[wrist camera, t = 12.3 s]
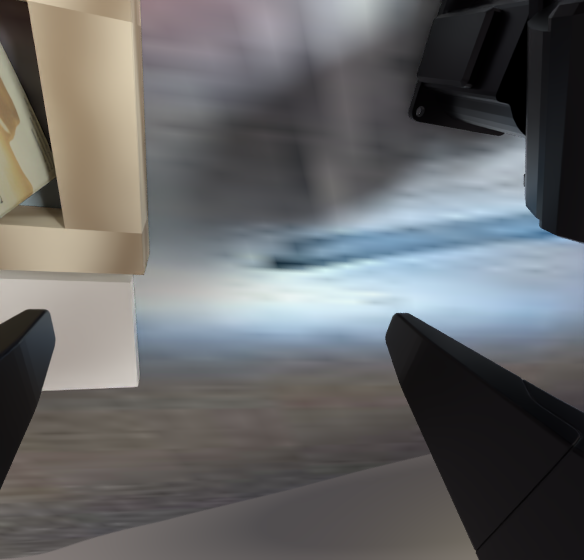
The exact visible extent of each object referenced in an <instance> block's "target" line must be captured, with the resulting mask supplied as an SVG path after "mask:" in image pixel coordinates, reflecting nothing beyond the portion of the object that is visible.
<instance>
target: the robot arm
mask: <svg viewBox="0 0 584 560" xmlns="http://www.w3.org/2000/svg"><path fill="white" fill-rule="evenodd" d="M417 77H418V81H417V84H416V88H415V91H414V94H413V97H412V101H411V104H410V107H409V112H408V114H409V117H410V118H411V119H412V120H414V121H418V122H423V123H429V124H435V125H440V126H446V127H452V128H457V129H463V130H468V131H474V132H480V133H485V134H491V135H497V136H501V135H503V134H504V133H507V134H511V135H515V136H519V137H522V138H526V154H525V174H524V187H525V201H526V206H527V208H528V209H529V210H530V211H531V212H532V213H533V215H534V216H535V217H536V218H538V219H539V220H540V221H539V226H540V227H541V228H542V229H544V230H546V231H548V232H550V233H552V234H555V235H557V236H559V237H561V238H565V239H569V240H572V241H576V242H579V243H584V0H442V3H441V6H440V9H439V13H438V16H437V17H436V18H435V19H434V21H433V24H432V27H431V30H430V34H429V37H428V40H427V43H426V47H425V50H424V53H423V57H422V60H421V63H420V66H419V70H418V73H417ZM419 107H421V112H420V114H419V115H416V110H417V109H418V108H419ZM385 339H386V344H387V347H388V350H389V353H390V356H391V359H392V362H393V365H394V368H395V371H396V374H397V377H398V380H399V383H400V385H401V388H402V390H403V393H404V395H405V397H406V399H407V402H408V404H409V406H410V408H411V410H412V413H413V415H414V417H415V419H416V421H417V424H418V426H419V428H420V430H421V432H422V435H423V437H424V439H425V441H426V443H427V446H428V448H429V450H430V452H431V455H432V457H433V459H434V461H435V463H436V466H437V468H438V470H439V472H440V474H441V477H442V479H443V481H444V483H445V485H446V488H447V490H448V492H449V494H450V496H451V499H452V501H453V503H454V505H455V507H456V509H457V512H458V514H459V516H460V518H461V521H462V523H463V525H464V527H465V530H466V532H467V534H468V536H469V538H470V540H471V543H472V545H473V547H474V549H475V550H476V554H477V557H478V559H479V560H584V412H582V411H580V410H578V409H576V408H574V407H572V406H571V405H569V404H567V403H565V402H563V401H561V400H559V399H557V398H556V397H554V396H552V395H550V394H549V393H547V392H545V391H543V390H541V389H540V388H538V387H536V386H534V385H533V384H531V383H529V382H527V381H526V380H522V379H521V378H520V377H519V376H517V375H515V374H513V373H512V372H510V371H508V370H506V369H505V368H503V367H501V366H499V365H498V364H496V363H494V362H493V361H491V360H489V359H487V358H486V357H484V356H482V355H480V354H479V353H477V352H475V351H473V350H472V349H470V348H468V347H466V346H465V345H463V344H461V343H460V342H458V341H456V340H454V339H453V338H451V337H449V336H447V335H446V334H444V333H442V332H440V331H439V330H437V329H435V328H433V327H432V326H430V325H428V324H427V323H425V322H423V321H421V320H420V319H418V318H416V317H414V316H413V315H411V314H409V313H396V314H394V315H393V317H392V320H391V322H390V325H389V327H388V330H387V332H386V337H385ZM55 341H56V338H55V332H54V328H53V323H52V319H51V315H50V312H49V311H48V310H46V309H27V310H24V311H23V312H21V313H19V314H17V315H15V316H14V317H12V318H10V319H8V320H6V321H5V322H3V323H1V324H0V489H1V487H2V484H3V482H4V480H5V478H6V475H7V473H8V471H9V469H10V466H11V464H12V462H13V459H14V457H15V455H16V453H17V450H18V448H19V446H20V444H21V441H22V439H23V437H24V435H25V432H26V430H27V428H28V425H29V423H30V421H31V419H32V416H33V414H34V412H35V409H36V407H37V404H38V401H39V398H40V395H41V391H42V388H43V385H44V381H45V378H46V375H47V371H48V368H49V364H50V361H51V358H52V354H53V351H54V347H55Z"/></svg>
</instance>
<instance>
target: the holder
mask: <svg viewBox="0 0 584 560" xmlns="http://www.w3.org/2000/svg"><path fill="white" fill-rule="evenodd" d="M18 1H23V2H27V3H28V8H29V14H30V20H31V26H32V32H33V38H34V44H35V50H36V56H37V62H38V68H39V74H40V80H41V86H42V92H43V98H44V104H45V110H46V116H47V122H48V128H49V134H50V140H51V146H52V152H53V158H54V164H55V170H56V176H57V182H58V188H59V194H60V201H61V207H62V209H61V208H49V207H36V206H23V205H18V206H16V207H15V208H14V209H12V210H11V211H10V212H8V213H7V214H5V215H4V216H3V217H2V218H0V270H23V271H50V272H78V273H105V274H132V275H144V272H145V269H146V265H147V261H148V257H149V228H148V201H147V174H146V147H145V120H144V94H143V67H142V40H141V13H140V0H18Z"/></svg>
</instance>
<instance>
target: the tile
mask: <svg viewBox="0 0 584 560" xmlns="http://www.w3.org/2000/svg"><path fill="white" fill-rule="evenodd" d="M27 309H46V310H48V311H49V312H50V315H51V319H52V323H53V328H54V332H55V338H56V341H55V347H54V351H53V354H52V358H51V361H50V364H49V368H48V371H47V375H46V378H45V381H44V385H43V388H42V391H50V390H74V389H98V388H122V387H138V383H139V378H140V371H139V356H138V341H137V326H136V310H135V295H134V280H133V275H132V274H105V273H78V272H50V271H23V270H0V324H1V323H3V322H5V321H6V320H8V319H10V318H12V317H14V316H15V315H17V314H19V313H21V312H23V311H24V310H27Z"/></svg>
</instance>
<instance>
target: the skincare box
mask: <svg viewBox="0 0 584 560" xmlns="http://www.w3.org/2000/svg"><path fill="white" fill-rule="evenodd" d="M55 177H57V176H56V170H55V164H54V158H53V154H52V152H51V150H50V147H49V145H48V142H47V140H46V138H45V136H44V133H43V131H42V129H41V126H40V124H39V122H38V120H37V117H36V115H35V113H34V111H33V109H32V106H31V104H30V102H29V100H28V98H27V96H26V94H25V92H24V90H23V88H22V86H21V84H20V81H19V79H18V77H17V75H16V73H15V71H14V69H13V67H12V65H11V63H10V61H9V59H8V57H7V55H6V53H5V51H4V49H3V47H2V45H1V43H0V218H2V217H3V216H4V215H5V214H7V213H8V212H10V211H11V210H12V209H14V208H15V207H16V206H18V205H19V204H20V203H22V202H23V201H24V200H26V199H27V198H28V197H30V196H31V195H33V194H34V193H35V192H37V191H38V190H39V189H41V188H42V187H44V186H45V185H46V184H48V183H49V182H50V181H51V180H53V179H54V178H55Z"/></svg>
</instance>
